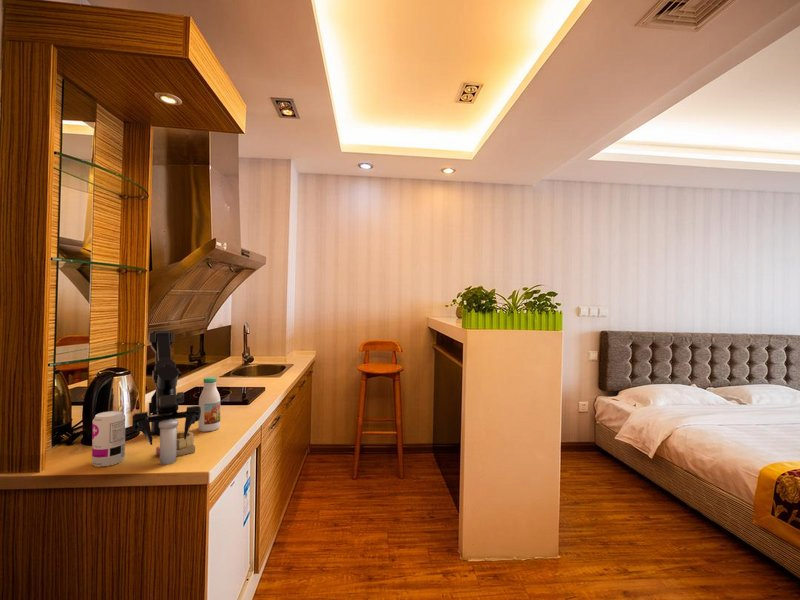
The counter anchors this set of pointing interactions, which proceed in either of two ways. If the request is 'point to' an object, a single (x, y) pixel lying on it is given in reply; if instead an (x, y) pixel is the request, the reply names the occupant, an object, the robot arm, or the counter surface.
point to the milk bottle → (209, 406)
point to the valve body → (182, 444)
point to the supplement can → (108, 438)
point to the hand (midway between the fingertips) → (168, 441)
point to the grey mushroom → (168, 441)
